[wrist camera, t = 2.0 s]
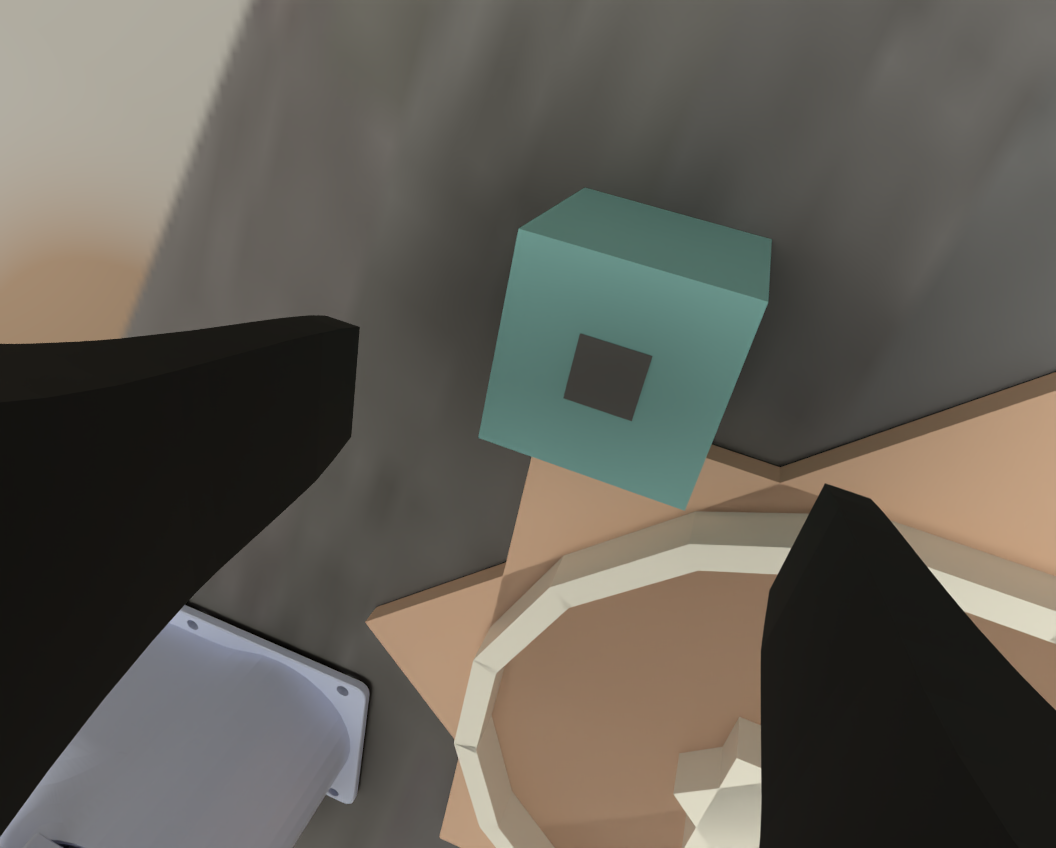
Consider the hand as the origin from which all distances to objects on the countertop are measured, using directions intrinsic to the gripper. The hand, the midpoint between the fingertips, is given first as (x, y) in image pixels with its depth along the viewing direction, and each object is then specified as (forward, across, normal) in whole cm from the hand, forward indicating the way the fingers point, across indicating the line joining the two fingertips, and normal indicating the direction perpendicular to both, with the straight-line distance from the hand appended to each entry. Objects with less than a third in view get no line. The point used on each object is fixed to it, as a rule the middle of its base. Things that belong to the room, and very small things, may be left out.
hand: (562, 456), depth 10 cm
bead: (+8, 0, 0) cm, 8 cm away
